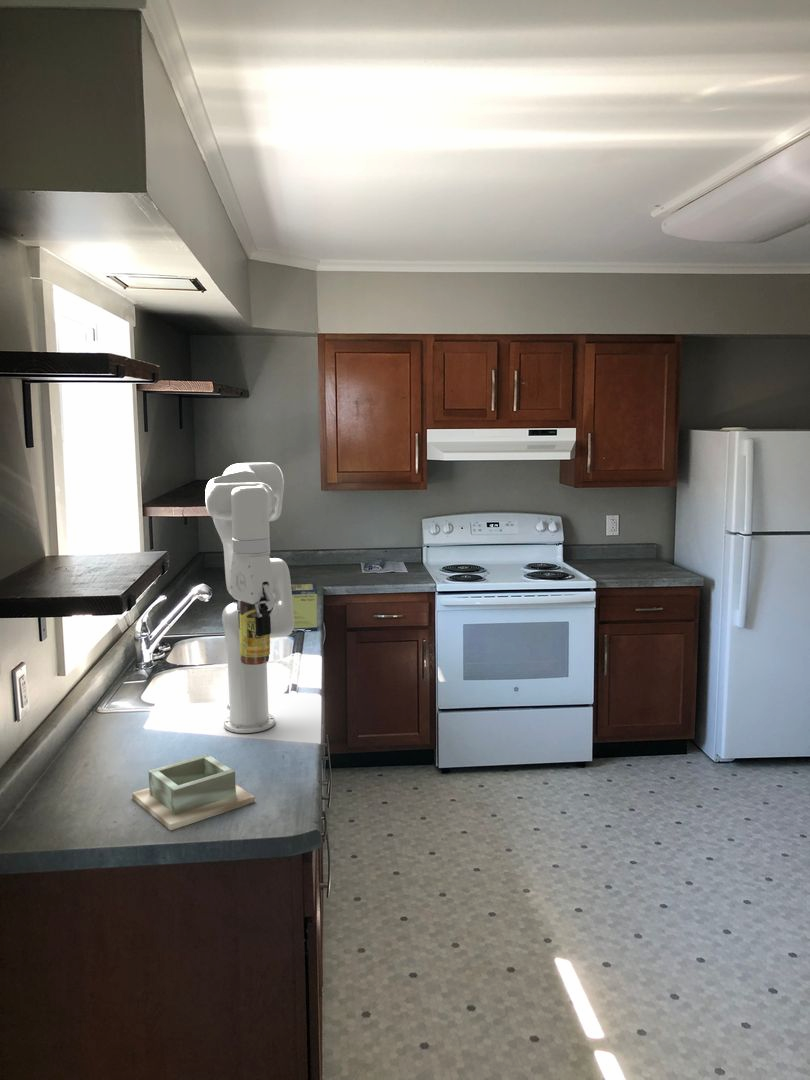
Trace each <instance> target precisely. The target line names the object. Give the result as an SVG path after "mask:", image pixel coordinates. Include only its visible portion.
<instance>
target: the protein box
mask: <svg viewBox="0 0 810 1080" xmlns="http://www.w3.org/2000/svg"><path fill="white" fill-rule="evenodd" d="M291 591H292V601H293V611H294V629H305V630H311V631H310V632H318V623H319V622H318V589H317V584H316V583H306V584H303V583H301V584H291Z"/></svg>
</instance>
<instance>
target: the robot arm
mask: <svg viewBox="0 0 810 1080" xmlns="http://www.w3.org/2000/svg"><path fill="white" fill-rule="evenodd" d="M284 484H285V481H284V475H283V472H282V470H281V468H280V467H279V465H278V464H276V463H274V462H243V463H242V462H240V463H234V464H231V465H230V466H228V467H227V468H226V469H225V470H224V471H223V474H222V475H221V476H217V477H213V478H211V479H210V480H209V481H208V482H207V484H206V487H205V497H204V498H205V506H206V511H207V513H208V514H209V516H210V517H211V519H212V520H213V524H214V527H215V529H216V531H217V534H218V535H219V538H220V541H221V543H222V545H223V556H224V557H223V559H224V575H225V576H224V577H225V584H226V590H227V592H228V594H229V595H231V597H232V598H233V599H234V600H235V602H232V603H229V604H227V605H226V606H225V607H224V608H223V610H222V615H221V621H222V622H221V623H222V628H223V633H224V637H225V645H226V656H227V676H228V699H229V703H228V704H227V705H226V709H227V710H229V716H228V717H227V718H226V719H224V722H223V727H224V729H225V730H227V731H229V732H232V733H236V734H252V733H258V732H262V731H266V730H268V729H270V728H272V727H273V726H274V725H275V723H276V717H275V716H274V715H272V714H271V713H269V691H268V687H269V686H268V664H267V663H268V662H266V663H263V664H258V665H247V664H243V663H242V662H241V660H240V657H241V655H240V601H243V602H245V603H248V604H255V608H256V612H257V616H258V617H255V620H256V635H257V636H263V635H268V634H270V639H275V638H277V639H278V638H285V637H288V636H290V635H291V634H292V633H293V632H292V631H293V629H294V611H293V601H292V591H291V585H292V583H291V581H292V580H291V575H290V569H289V567H288V563H287V562H286V561H285V560H283V559H282V558H277V557H273V558H272V557H271V556H270V554H271V541H270V538H271V537H270V522H274V521H276V520H278V519H279V518H280V516H281V514H282V509H283V498H284V497H283V496H284V490H285V489H284V488H285V485H284ZM263 598H264V601H260V599H263ZM263 604H264V606H263V608H262V609H261V607H260V605H263Z"/></svg>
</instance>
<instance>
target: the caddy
mask: <svg viewBox="0 0 810 1080" xmlns="http://www.w3.org/2000/svg"><path fill="white" fill-rule="evenodd" d="M147 772H148V784H149V785H148V787H147V788H144V789H141V790H140V789H139V790H137V791H133V792H131V799H132V798H133V799H132V800H134V801H135V802H136V803H137V804H138V805H139V806H140V807H142V808H143V809H144V810H145V811H146V812H147V813H149V814H150V815H151V816H152V817H153V818H155V819H156V820H157V821H159V823H161V824H162V825H163V826H164V827H165V828H166V829H168V830H169V831H173V830H176V829H179V828H182V827H186V826H188V825H191V824H193V823H197V822H200V821H203V820H206V819H208V818H212V817H214V816H217V815H221V814H223V813H227V812H229V811H232V810H235V809H239V808H241V807H245V806H248V805H250V803H251V804H254V803H255V796H254V795H253V794H252V793H250V792H248V791H247V790H245V789H244V788H242V787H241V786H239V785H238V784H236V771H235V770H233V769H232V768H231V767H228V766H227V765H225V764H224V763H222V762H221V761H219V760H218V759H216V758H214V757H213V756H212V755H210V754H208V753H206V754H203V755H199V756H195V757H191V758H189V759H185V760H182V761H178V762H174V763H171V764H167V765H163V766H160V767H157V768H156V767H155V768H153V769H150V770H148V771H147ZM253 802H254V803H253Z"/></svg>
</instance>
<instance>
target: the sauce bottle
mask: <svg viewBox="0 0 810 1080" xmlns="http://www.w3.org/2000/svg"><path fill="white" fill-rule="evenodd" d="M260 601H264V598H263V599H260ZM263 606H264V604H263V605H260V607H261V609H262V608H263ZM255 617H258V616H257V612H256V608H255V604H248V603H245V602H243V601H240V655H241V657H240V660H241V662H242V663H243V664H247V665H258V664H263V663H266V662H267V663H268V662H269V660H270V655H271V638H270V634H268V635H263V636H257V635H256V620H255Z"/></svg>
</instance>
